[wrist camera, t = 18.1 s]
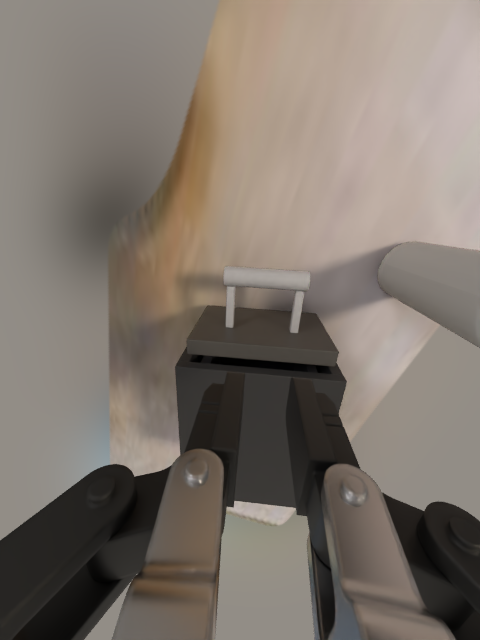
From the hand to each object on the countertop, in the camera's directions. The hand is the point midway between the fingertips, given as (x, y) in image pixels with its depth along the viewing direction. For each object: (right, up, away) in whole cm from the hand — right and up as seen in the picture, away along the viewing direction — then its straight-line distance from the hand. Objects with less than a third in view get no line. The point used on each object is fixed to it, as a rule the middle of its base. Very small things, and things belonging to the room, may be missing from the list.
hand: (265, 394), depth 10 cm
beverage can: (+14, +8, +12) cm, 20 cm away
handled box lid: (+1, 0, +15) cm, 15 cm away
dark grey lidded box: (+1, -4, +18) cm, 18 cm away
